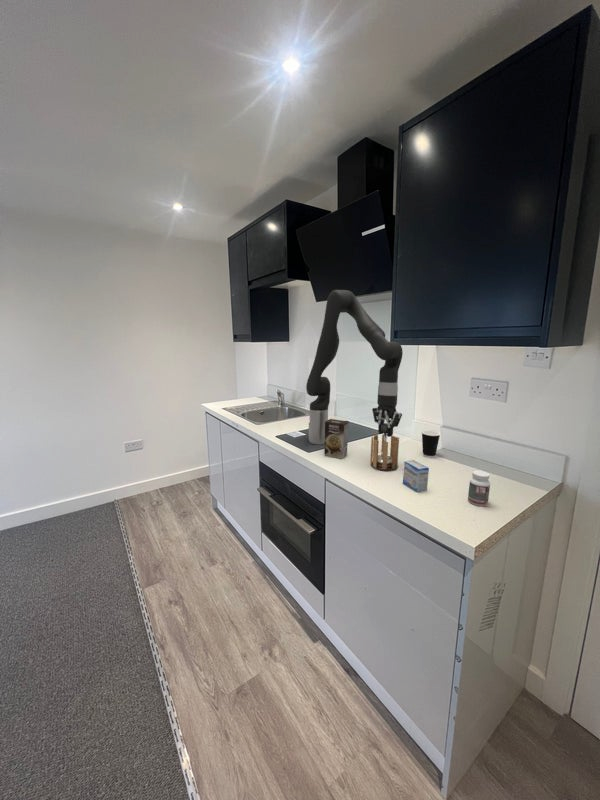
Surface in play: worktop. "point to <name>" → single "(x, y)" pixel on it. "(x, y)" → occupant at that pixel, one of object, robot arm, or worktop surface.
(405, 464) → the medicine box
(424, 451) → the dixie cup
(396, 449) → the press carafe
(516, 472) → the worktop surface
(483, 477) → the pill bottle
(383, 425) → the plunger
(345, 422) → the coffee box
